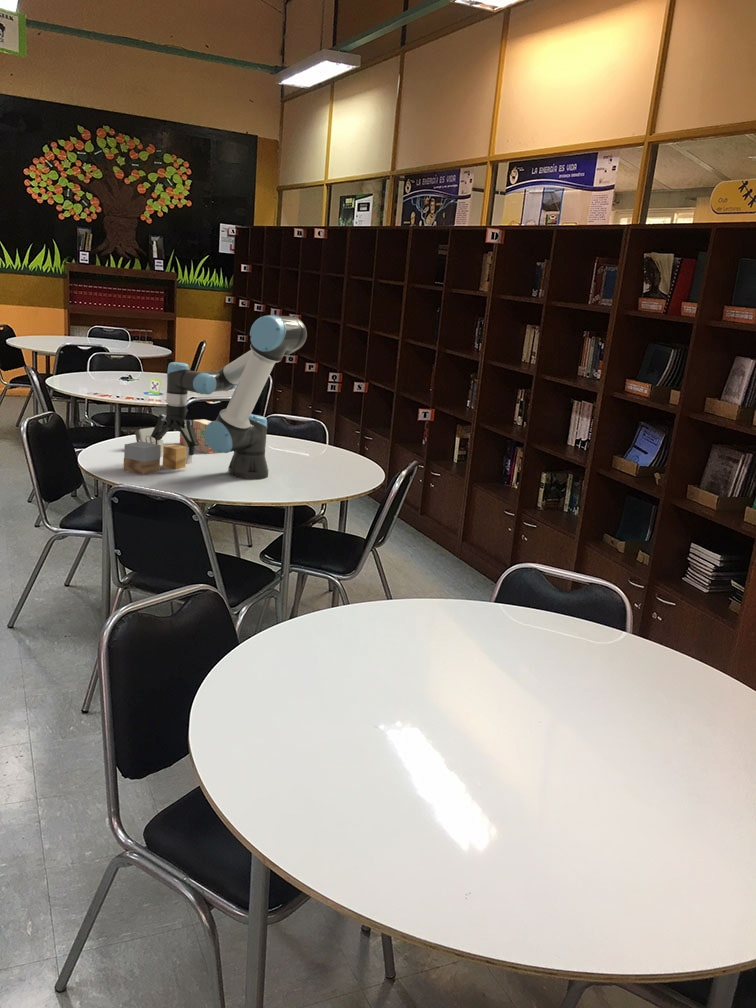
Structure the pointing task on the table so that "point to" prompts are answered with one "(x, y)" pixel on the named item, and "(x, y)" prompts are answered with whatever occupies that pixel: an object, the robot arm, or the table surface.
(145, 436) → the electrical switch
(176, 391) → the robot arm
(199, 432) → the stack of blocks
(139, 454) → the tower top block
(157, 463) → the tower bottom block
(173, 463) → the ochre block
